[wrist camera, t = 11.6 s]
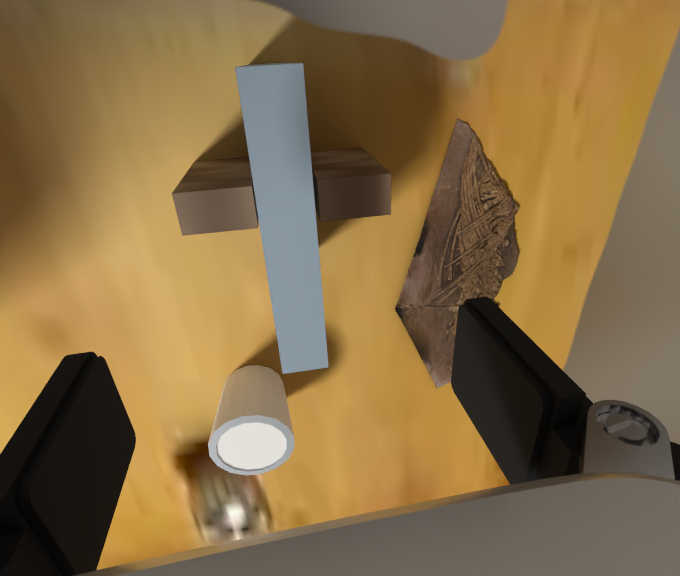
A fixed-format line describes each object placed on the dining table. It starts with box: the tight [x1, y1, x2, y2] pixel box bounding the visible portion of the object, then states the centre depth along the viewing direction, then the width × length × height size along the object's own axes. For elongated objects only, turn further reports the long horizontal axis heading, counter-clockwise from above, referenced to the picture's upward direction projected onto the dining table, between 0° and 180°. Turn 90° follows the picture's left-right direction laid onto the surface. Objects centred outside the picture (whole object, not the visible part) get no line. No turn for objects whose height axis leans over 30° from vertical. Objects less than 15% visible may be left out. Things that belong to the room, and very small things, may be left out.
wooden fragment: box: [395, 119, 519, 388], centre depth 37 cm, size 26×11×1 cm, turn 1°
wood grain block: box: [172, 148, 391, 236], centre depth 27 cm, size 12×2×8 cm, turn 93°
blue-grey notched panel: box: [235, 62, 329, 374], centre depth 24 cm, size 14×2×14 cm, turn 3°
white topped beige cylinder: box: [208, 365, 294, 475], centre depth 36 cm, size 7×7×7 cm
